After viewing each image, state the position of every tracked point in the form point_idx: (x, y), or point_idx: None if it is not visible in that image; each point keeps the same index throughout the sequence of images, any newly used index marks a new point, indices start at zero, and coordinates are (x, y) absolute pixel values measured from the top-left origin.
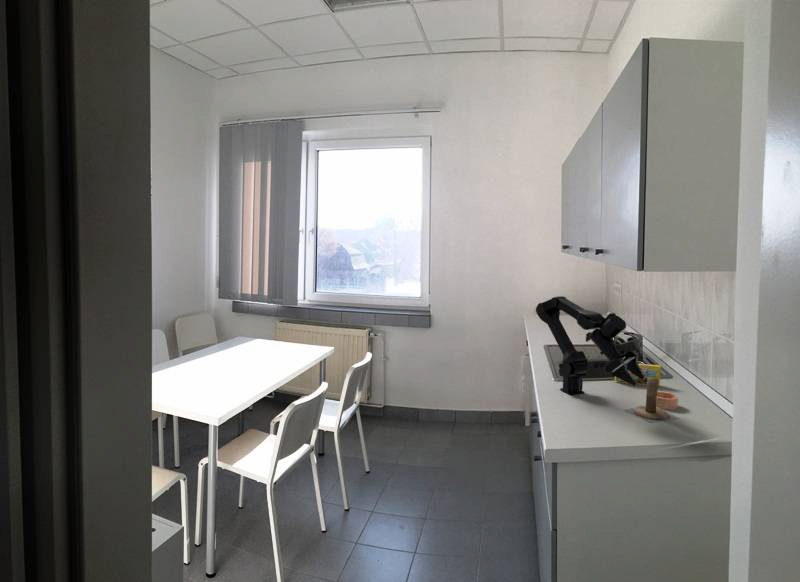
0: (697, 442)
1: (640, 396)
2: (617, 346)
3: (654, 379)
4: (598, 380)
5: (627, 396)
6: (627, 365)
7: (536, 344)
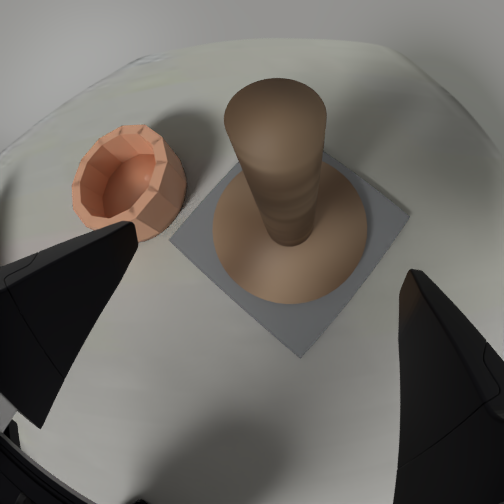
0: (449, 97)
1: None
2: None
3: (294, 97)
4: None
5: None
6: (26, 388)
7: None
